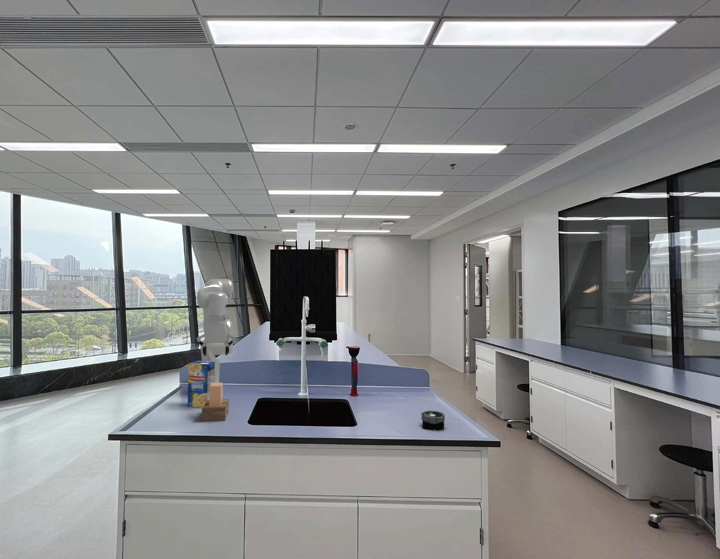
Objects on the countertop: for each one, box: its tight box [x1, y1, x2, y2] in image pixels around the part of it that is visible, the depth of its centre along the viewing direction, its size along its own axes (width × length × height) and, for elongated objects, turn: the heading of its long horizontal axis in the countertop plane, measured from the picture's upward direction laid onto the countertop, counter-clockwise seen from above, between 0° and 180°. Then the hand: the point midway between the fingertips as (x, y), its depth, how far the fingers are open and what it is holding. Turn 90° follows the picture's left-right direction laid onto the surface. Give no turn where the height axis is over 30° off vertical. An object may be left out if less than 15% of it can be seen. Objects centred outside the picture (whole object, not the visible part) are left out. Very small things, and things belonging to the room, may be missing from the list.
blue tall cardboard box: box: [187, 360, 215, 409], centre depth 206 cm, size 7×11×22 cm, turn 79°
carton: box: [209, 381, 224, 406], centre depth 188 cm, size 7×5×9 cm
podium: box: [201, 398, 230, 423], centre depth 188 cm, size 14×10×6 cm
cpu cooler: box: [421, 410, 446, 431], centre depth 177 cm, size 10×6×10 cm
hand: (215, 355), depth 189 cm, fingers open, 9 cm apart
